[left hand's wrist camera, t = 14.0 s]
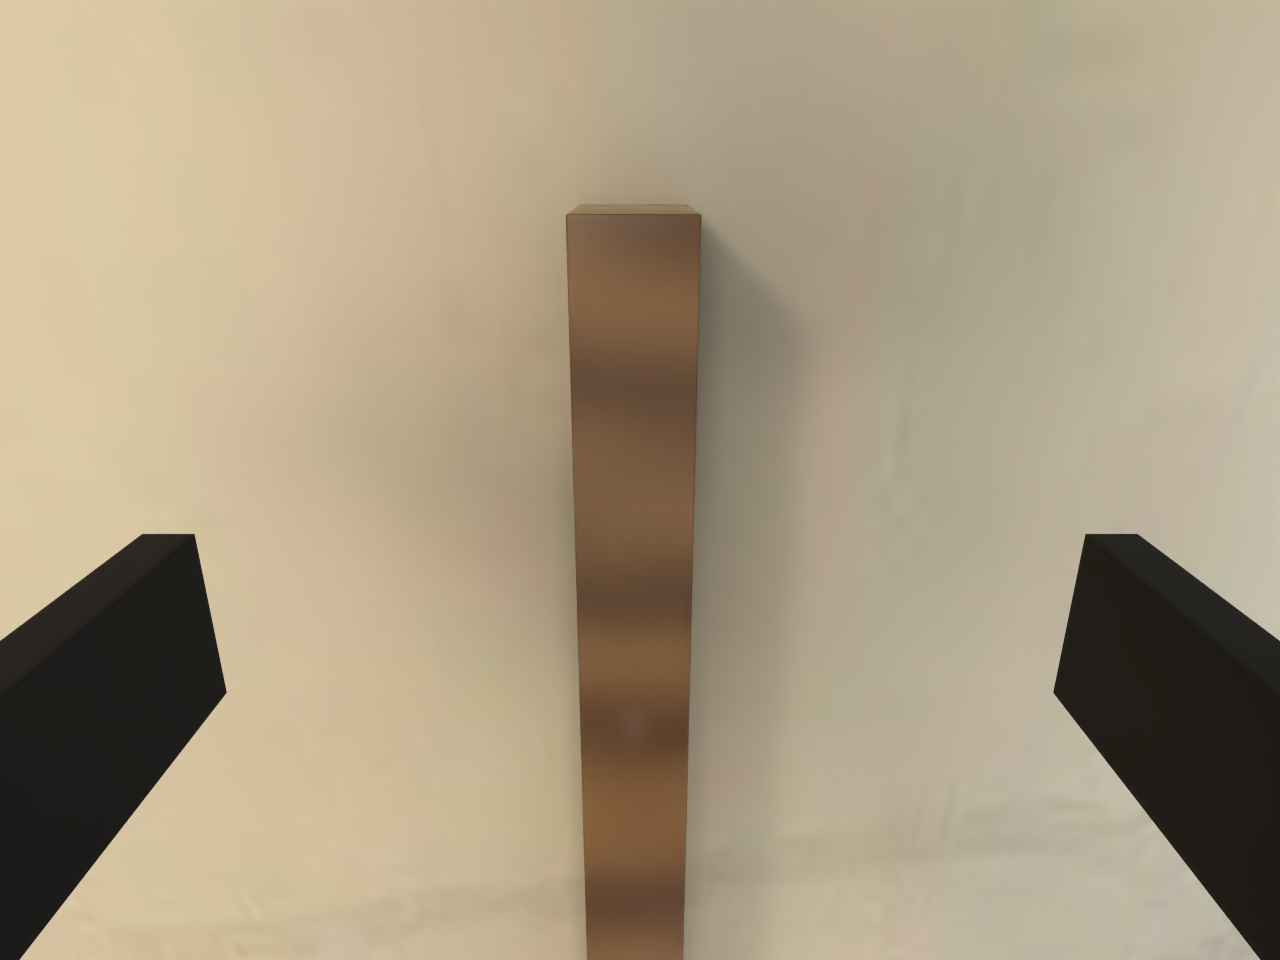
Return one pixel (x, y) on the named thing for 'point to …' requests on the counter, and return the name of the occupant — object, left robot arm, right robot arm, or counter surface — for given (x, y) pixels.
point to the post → (634, 561)
